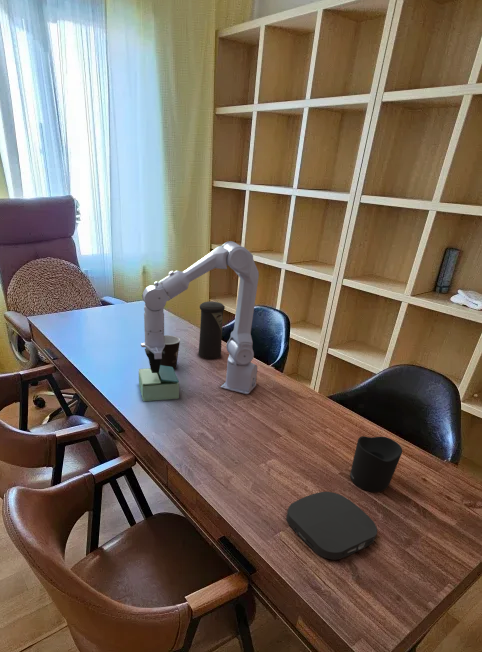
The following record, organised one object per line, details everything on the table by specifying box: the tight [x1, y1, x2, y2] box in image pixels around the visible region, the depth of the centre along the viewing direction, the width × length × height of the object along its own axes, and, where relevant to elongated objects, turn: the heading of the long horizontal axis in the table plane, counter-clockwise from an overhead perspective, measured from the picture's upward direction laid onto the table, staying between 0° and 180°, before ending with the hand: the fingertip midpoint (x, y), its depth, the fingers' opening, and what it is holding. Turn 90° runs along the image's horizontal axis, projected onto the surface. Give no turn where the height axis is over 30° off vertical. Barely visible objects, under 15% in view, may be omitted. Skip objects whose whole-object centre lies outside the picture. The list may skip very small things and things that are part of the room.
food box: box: [138, 367, 180, 402], centre depth 133 cm, size 11×11×6 cm
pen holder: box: [349, 435, 403, 493], centre depth 97 cm, size 9×9×10 cm
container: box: [198, 300, 225, 360], centre depth 156 cm, size 9×9×20 cm
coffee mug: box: [161, 334, 181, 370], centre depth 149 cm, size 12×9×10 cm
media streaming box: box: [286, 491, 378, 561], centre depth 85 cm, size 15×15×3 cm
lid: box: [159, 365, 180, 384], centre depth 132 cm, size 5×11×1 cm, turn 13°
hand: (155, 371), depth 130 cm, fingers closed
